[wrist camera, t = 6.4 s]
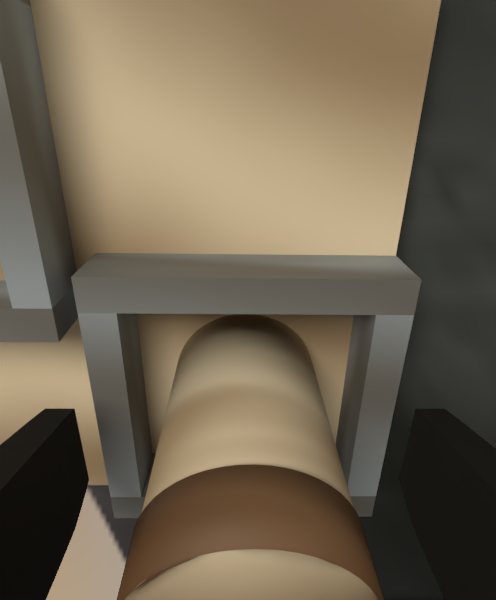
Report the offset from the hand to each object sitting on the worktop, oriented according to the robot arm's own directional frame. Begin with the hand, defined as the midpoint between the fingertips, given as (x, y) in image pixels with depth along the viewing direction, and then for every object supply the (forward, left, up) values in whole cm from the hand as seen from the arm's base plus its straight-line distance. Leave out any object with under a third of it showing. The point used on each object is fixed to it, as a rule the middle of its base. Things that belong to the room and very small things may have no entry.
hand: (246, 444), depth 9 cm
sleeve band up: (0, 0, -2) cm, 2 cm away
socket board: (+2, +4, -3) cm, 6 cm away
